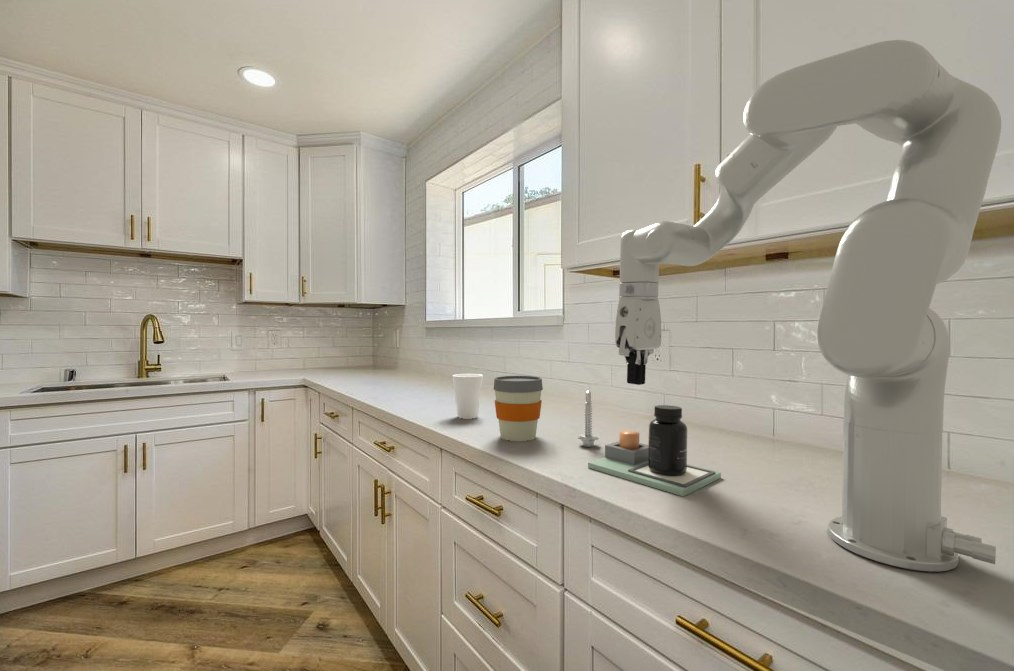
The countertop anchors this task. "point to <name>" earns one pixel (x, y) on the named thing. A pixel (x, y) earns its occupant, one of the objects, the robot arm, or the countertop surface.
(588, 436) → the screw
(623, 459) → the mint green tray
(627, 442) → the button
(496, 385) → the reusable coffee cup
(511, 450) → the countertop surface
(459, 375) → the foam cup
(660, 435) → the supplement bottle
